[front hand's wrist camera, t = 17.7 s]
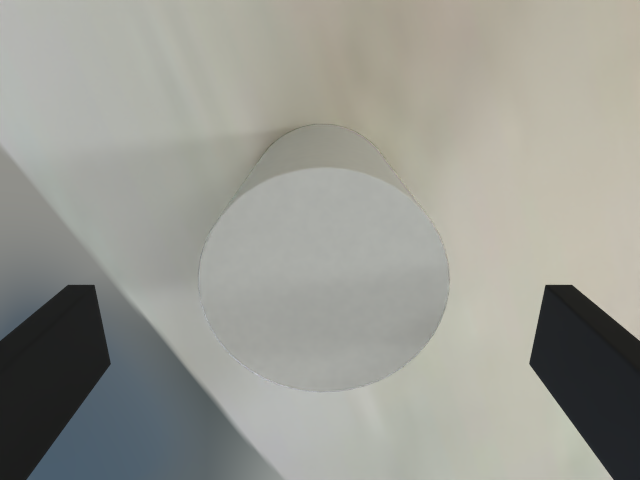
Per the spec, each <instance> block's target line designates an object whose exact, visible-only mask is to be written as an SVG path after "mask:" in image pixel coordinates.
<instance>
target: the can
mask: <svg viewBox="0 0 640 480" xmlns="http://www.w3.org/2000/svg"><path fill="white" fill-rule="evenodd" d="M449 283H450V275H449V263H448V259H447V254H446V250H445V247H444V245H443V242H442V239H441V237H440V234H439V233H438V231H437V229H436V227H435V226H434V224H433V222H432V221H431V219H430V218H429V217H428V215H427V214H426V213H425V211H424V210H423V209H422V207H421V206H420V205H419V203H418V202H417V201H416V199H415V198H414V197H413V195H412V194H411V193H410V191H409V190H408V189H407V187H406V186H405V185H404V183H403V182H402V181H401V179H400V178H399V177H398V175H397V174H396V173H395V171H394V170H393V169H392V167H391V166H390V165H389V163H388V162H387V161H386V159H385V158H384V157H383V155H382V154H381V153H380V151H379V150H378V149H377V148H376V147H375V146H374V145H373V144H372V143H371V142H370V141H369V140H368V139H366V138H365V137H363V136H362V135H360V134H358V133H357V132H355V131H353V130H350V129H347V128H345V127H341V126H337V125H329V124H314V125H309V126H304V127H301V128H298V129H295V130H293V131H291V132H289V133H286V134H285V135H283V136H282V137H280V138H279V139H278V140H276V141H275V142H274V143H273V144H272V145H271V146H270V147H269V148H268V149H267V150H266V152H265V153H264V154H263V156H262V157H261V158H260V160H259V161H258V163H257V164H256V165H255V167H254V168H253V170H252V171H251V173H250V174H249V175H248V177H247V178H246V180H245V181H244V182H243V184H242V185H241V187H240V188H239V190H238V191H237V192H236V194H235V195H234V197H233V198H232V199H231V201H230V202H229V204H228V205H227V207H226V208H225V209H224V211H223V212H222V214H221V215H220V217H219V218H218V220H217V221H216V223H215V224H214V226H213V227H212V229H211V231H210V233H209V235H208V237H207V239H206V242H205V244H204V247H203V251H202V254H201V257H200V264H199V271H198V289H199V295H200V301H201V305H202V308H203V312H204V315H205V318H206V320H207V322H208V324H209V326H210V328H211V330H212V332H213V333H214V335H215V337H216V338H217V340H218V341H219V343H220V344H221V345H222V346H223V347H224V349H225V350H226V351H227V352H228V353H229V354H230V355H231V356H232V357H233V358H234V359H235V360H236V361H237V362H239V363H240V364H241V365H243V366H244V367H245V368H247V369H248V370H249V371H251V372H253V373H254V374H256V375H258V376H260V377H262V378H263V379H266V380H268V381H270V382H273V383H275V384H278V385H281V386H285V387H288V388H291V389H297V390H302V391H310V392H338V391H345V390H351V389H355V388H359V387H363V386H366V385H369V384H372V383H374V382H377V381H379V380H381V379H383V378H385V377H388V376H390V375H391V374H393V373H395V372H396V371H398V370H399V369H401V368H402V367H404V366H405V365H406V364H407V363H409V362H410V361H411V360H412V359H413V358H415V357H416V356H417V354H418V353H419V352H420V351H421V350H422V349H423V348H424V347H425V346H426V344H427V343H428V342H429V340H430V339H431V337H432V336H433V335H434V333H435V331H436V329H437V327H438V325H439V324H440V321H441V319H442V316H443V313H444V311H445V308H446V304H447V299H448V295H449Z"/></svg>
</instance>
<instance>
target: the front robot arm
mask: <svg viewBox="0 0 640 480" xmlns="http://www.w3.org/2000/svg"><path fill="white" fill-rule="evenodd" d="M110 364H111V363H110V358H109V354H108V349H107V344H106V339H105V334H104V329H103V324H102V319H101V315H100V310H99V305H98V300H97V295H96V290H95V286H94V285H67V286H66V287H65V288H64V289H63V290H61V291H60V292H59V293H58V294H57V295H55V296H54V297H53V298H52V299H50V300H49V301H48V302H47V303H46V304H44V305H43V306H42V307H41V308H40V309H38V310H37V311H36V312H35V313H34V314H32V315H31V316H30V317H29V318H27V319H26V320H25V321H24V322H23V323H21V324H20V325H19V326H18V327H17V328H15V329H14V330H13V331H12V332H11V333H9V334H8V335H7V336H6V337H5V338H3V339H2V340H1V341H0V480H26V479H27V478H28V477H29V475H30V474H31V473H32V471H33V470H34V469H35V467H36V466H37V464H38V463H39V462H40V460H41V459H42V458H43V456H44V455H45V453H46V452H47V451H48V449H49V448H50V447H51V445H52V444H53V442H54V441H55V440H56V438H57V437H58V436H59V434H60V433H61V431H62V430H63V429H64V427H65V426H66V425H67V423H68V422H69V420H70V419H71V418H72V416H73V415H74V414H75V412H76V411H77V409H78V408H79V407H80V405H81V404H82V403H83V401H84V400H85V398H86V397H87V396H88V394H89V393H90V392H91V390H92V389H93V388H94V386H95V385H96V383H97V382H98V381H99V379H100V378H101V377H102V375H103V374H104V372H105V371H106V370H107V368H108V367H109V366H110ZM529 364H530V366H531V367H532V368H533V370H534V371H535V372H536V374H537V375H538V377H539V378H540V379H541V381H542V382H543V383H544V385H545V386H546V388H547V389H548V390H549V392H550V393H551V394H552V396H553V397H554V399H555V400H556V401H557V403H558V404H559V405H560V407H561V408H562V409H563V411H564V412H565V414H566V415H567V416H568V418H569V419H570V420H571V422H572V423H573V425H574V426H575V427H576V429H577V430H578V431H579V433H580V434H581V436H582V437H583V438H584V440H585V441H586V442H587V444H588V445H589V447H590V448H591V449H592V451H593V452H594V453H595V455H596V456H597V458H598V459H599V460H600V462H601V463H602V464H603V466H604V467H605V469H606V470H607V471H608V473H609V474H610V475H611V477H612V478H613V479H614V480H640V341H639V340H638V339H637V338H635V337H634V336H633V335H632V334H631V333H629V332H628V331H627V330H626V329H625V328H623V327H622V326H621V325H620V324H619V323H617V322H616V321H615V320H614V319H612V318H611V317H610V316H609V315H608V314H606V313H605V312H604V311H603V310H602V309H600V308H599V307H598V306H597V305H596V304H594V303H593V302H592V301H591V300H590V299H588V298H587V297H586V296H585V295H583V294H582V293H581V292H580V291H579V290H577V289H576V288H575V287H574V286H573V285H545V290H544V295H543V300H542V305H541V310H540V315H539V319H538V324H537V329H536V334H535V339H534V344H533V349H532V353H531V358H530V363H529Z"/></svg>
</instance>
